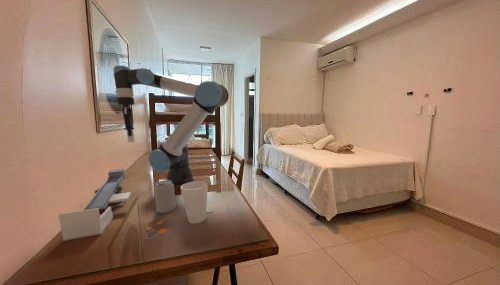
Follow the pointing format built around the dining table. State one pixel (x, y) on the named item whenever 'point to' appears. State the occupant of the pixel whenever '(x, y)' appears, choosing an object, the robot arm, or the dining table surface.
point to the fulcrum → (114, 204)
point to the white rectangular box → (84, 223)
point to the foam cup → (195, 200)
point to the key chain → (155, 230)
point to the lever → (109, 191)
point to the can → (164, 196)
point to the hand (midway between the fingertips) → (131, 141)
